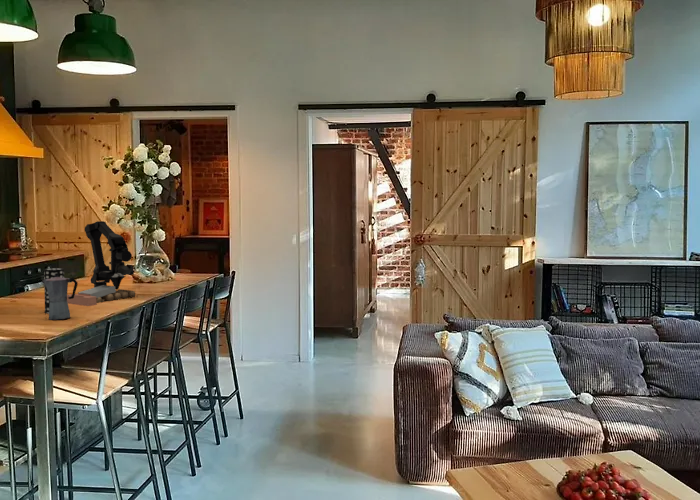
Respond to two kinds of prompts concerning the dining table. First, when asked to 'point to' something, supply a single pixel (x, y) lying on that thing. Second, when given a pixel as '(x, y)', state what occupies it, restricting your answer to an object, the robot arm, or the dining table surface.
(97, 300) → the roller
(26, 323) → the dining table surface
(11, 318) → the dining table surface
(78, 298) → the stop beam
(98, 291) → the slab
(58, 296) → the moka pot
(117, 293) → the roller bed
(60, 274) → the white-spotted black cylinder
